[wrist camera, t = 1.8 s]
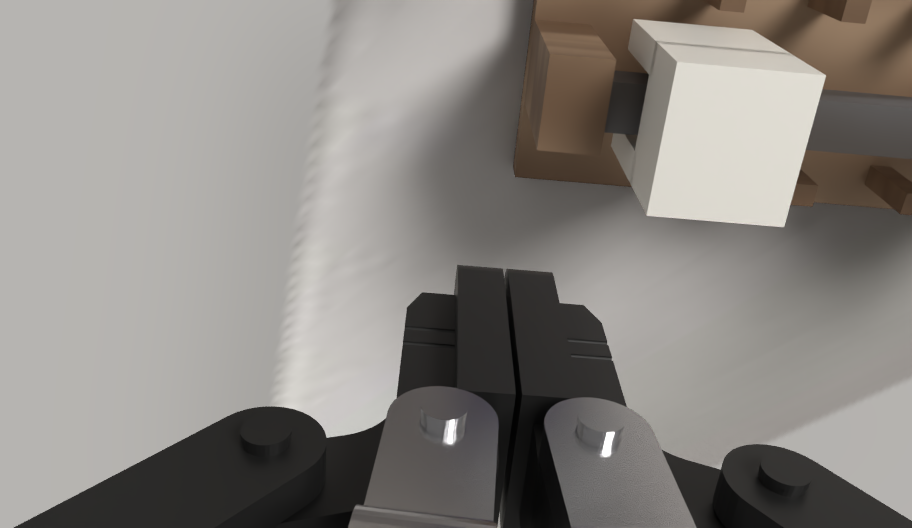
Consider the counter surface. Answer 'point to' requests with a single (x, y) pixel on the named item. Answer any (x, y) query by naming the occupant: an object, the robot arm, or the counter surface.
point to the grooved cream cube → (718, 124)
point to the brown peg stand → (733, 6)
